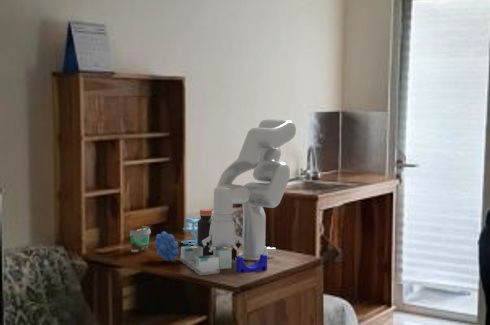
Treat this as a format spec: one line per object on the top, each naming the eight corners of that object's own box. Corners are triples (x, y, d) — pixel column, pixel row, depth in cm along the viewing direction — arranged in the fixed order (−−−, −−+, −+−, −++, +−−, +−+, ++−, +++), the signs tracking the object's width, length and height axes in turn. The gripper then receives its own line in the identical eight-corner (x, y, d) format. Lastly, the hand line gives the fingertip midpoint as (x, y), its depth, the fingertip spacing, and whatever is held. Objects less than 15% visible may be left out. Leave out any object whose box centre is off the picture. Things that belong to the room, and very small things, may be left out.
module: (224, 264, 289) (225, 245, 288) (231, 268, 283) (231, 249, 282) (213, 264, 287) (213, 246, 286) (219, 269, 281) (219, 250, 280)
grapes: (148, 261, 291) (148, 232, 290) (157, 258, 297) (157, 229, 296) (173, 264, 286) (173, 235, 284) (181, 261, 292) (182, 232, 290)
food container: (142, 255, 301) (142, 231, 300) (129, 254, 303) (129, 230, 302) (155, 249, 313) (155, 226, 312) (142, 248, 315) (143, 225, 314)
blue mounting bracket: (261, 268, 284) (262, 253, 284) (267, 270, 280) (267, 255, 280) (234, 270, 279) (234, 255, 279) (239, 273, 275) (239, 258, 274)
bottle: (216, 258, 299) (216, 210, 297) (201, 259, 296) (201, 211, 294) (209, 254, 305) (209, 208, 303) (194, 256, 302) (195, 209, 300)
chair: (205, 243, 327) (206, 217, 326) (192, 246, 321) (193, 219, 320) (193, 240, 332) (194, 215, 331) (180, 243, 326) (181, 217, 325)
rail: (198, 259, 296) (198, 244, 295) (219, 273, 274) (219, 257, 273) (180, 260, 293) (180, 246, 292) (199, 275, 271) (199, 259, 270)
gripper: (239, 215, 290) (238, 256, 291) (199, 217, 283) (198, 259, 285) (246, 218, 283) (245, 261, 285) (205, 220, 276) (204, 264, 278)
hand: (222, 260), depth 285 cm, fingers open, 9 cm apart
